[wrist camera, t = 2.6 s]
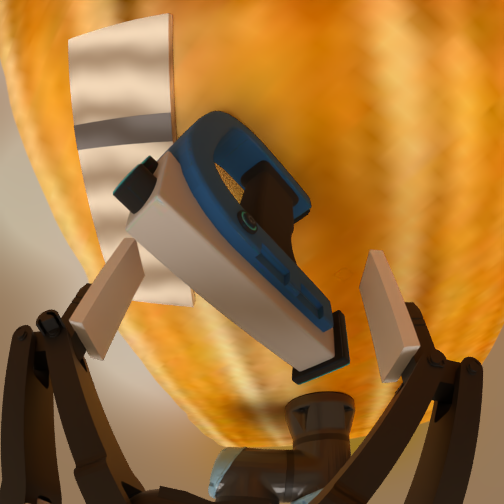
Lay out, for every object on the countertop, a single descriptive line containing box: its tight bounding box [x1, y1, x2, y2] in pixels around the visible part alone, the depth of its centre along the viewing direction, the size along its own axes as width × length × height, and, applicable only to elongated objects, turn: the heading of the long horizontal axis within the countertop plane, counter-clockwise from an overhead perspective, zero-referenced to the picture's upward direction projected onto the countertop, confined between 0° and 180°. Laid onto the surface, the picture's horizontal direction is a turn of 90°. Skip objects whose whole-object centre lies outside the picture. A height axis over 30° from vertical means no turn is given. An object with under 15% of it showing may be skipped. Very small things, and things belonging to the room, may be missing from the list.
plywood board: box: [68, 13, 195, 307], centre depth 31 cm, size 36×12×1 cm, turn 179°
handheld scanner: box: [113, 111, 350, 385], centre depth 22 cm, size 5×16×20 cm, turn 41°
